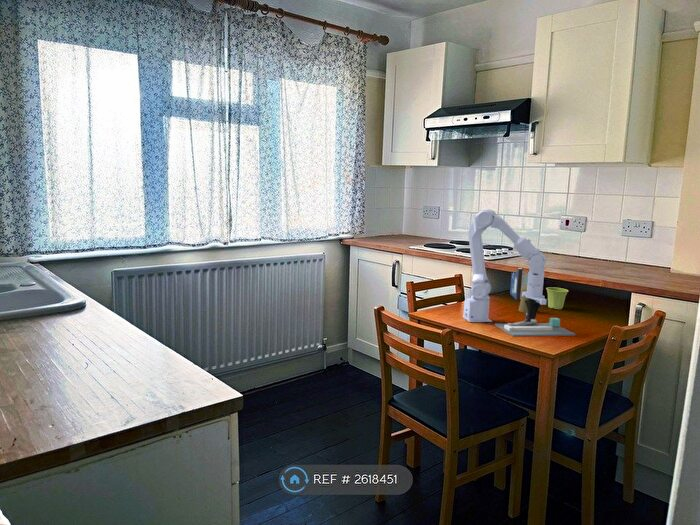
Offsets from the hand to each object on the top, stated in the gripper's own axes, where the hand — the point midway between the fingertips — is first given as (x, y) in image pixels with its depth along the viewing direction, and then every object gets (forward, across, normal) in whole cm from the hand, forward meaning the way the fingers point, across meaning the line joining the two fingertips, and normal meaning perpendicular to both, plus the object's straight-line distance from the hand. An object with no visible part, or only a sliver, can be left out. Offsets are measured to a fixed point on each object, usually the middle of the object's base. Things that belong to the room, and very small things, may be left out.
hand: (531, 318), depth 203 cm
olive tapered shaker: (+4, +26, -12) cm, 28 cm away
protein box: (+4, +54, -25) cm, 60 cm away
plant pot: (+4, +32, -30) cm, 44 cm away
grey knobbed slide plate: (+3, -4, +1) cm, 5 cm away
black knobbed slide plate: (+2, +1, +3) cm, 4 cm away
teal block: (+3, 0, -9) cm, 10 cm away
